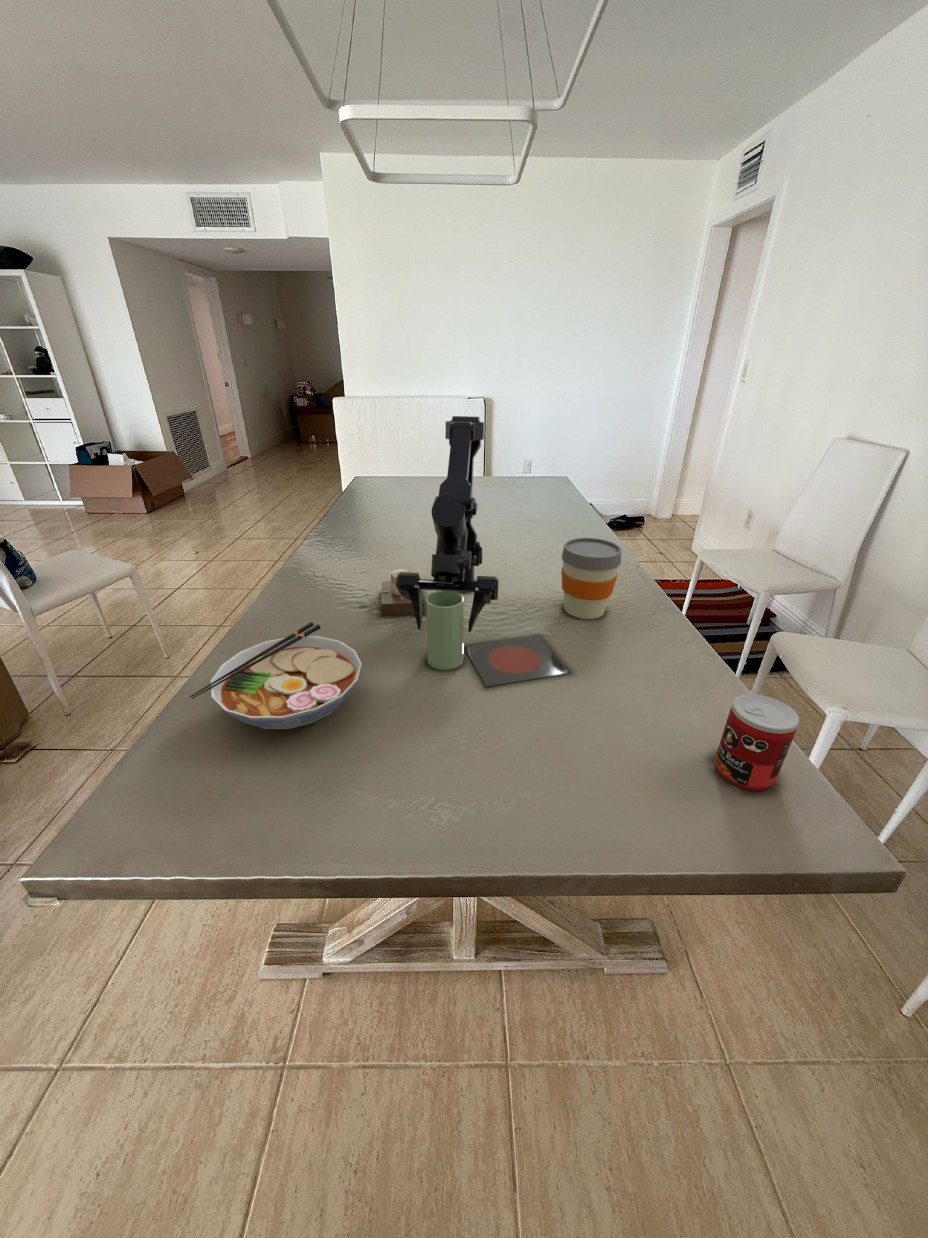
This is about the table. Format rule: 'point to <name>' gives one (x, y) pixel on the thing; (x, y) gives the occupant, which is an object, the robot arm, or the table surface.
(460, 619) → the tumbler
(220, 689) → the ramen bowl
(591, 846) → the table surface
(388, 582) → the brown flat block
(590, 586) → the reusable coffee cup
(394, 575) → the cream jar candle
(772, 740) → the canned food
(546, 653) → the hob
